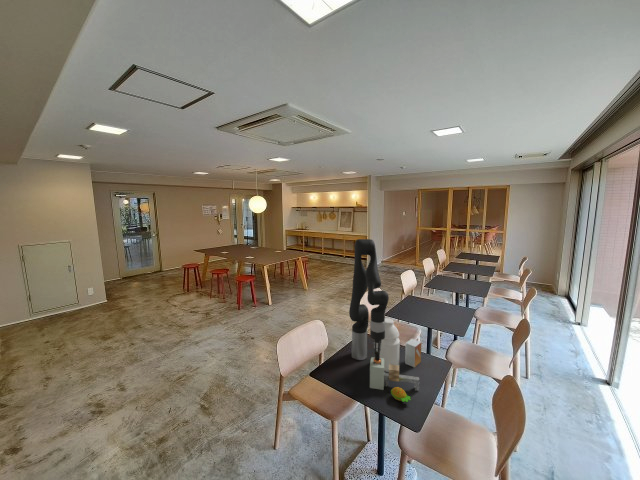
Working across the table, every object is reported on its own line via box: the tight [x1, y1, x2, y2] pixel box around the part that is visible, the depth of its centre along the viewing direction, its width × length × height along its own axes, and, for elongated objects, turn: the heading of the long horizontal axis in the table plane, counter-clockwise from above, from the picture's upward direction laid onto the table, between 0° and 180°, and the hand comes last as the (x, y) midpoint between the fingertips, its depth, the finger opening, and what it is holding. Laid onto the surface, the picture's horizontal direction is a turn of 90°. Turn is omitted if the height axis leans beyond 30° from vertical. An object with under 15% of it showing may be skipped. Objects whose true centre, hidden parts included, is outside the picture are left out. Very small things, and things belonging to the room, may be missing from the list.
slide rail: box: [384, 372, 420, 392], centre depth 139 cm, size 18×2×6 cm, turn 75°
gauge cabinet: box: [369, 356, 385, 391], centre depth 142 cm, size 7×9×12 cm
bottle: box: [380, 317, 401, 373], centre depth 157 cm, size 14×14×28 cm
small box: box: [404, 338, 423, 368], centre depth 159 cm, size 8×6×13 cm
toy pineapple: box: [390, 386, 412, 403], centre depth 129 cm, size 7×10×5 cm
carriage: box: [388, 364, 400, 383], centre depth 139 cm, size 5×5×6 cm
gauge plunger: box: [373, 358, 381, 365], centre depth 141 cm, size 4×4×9 cm
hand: (377, 359), depth 141 cm, fingers closed
